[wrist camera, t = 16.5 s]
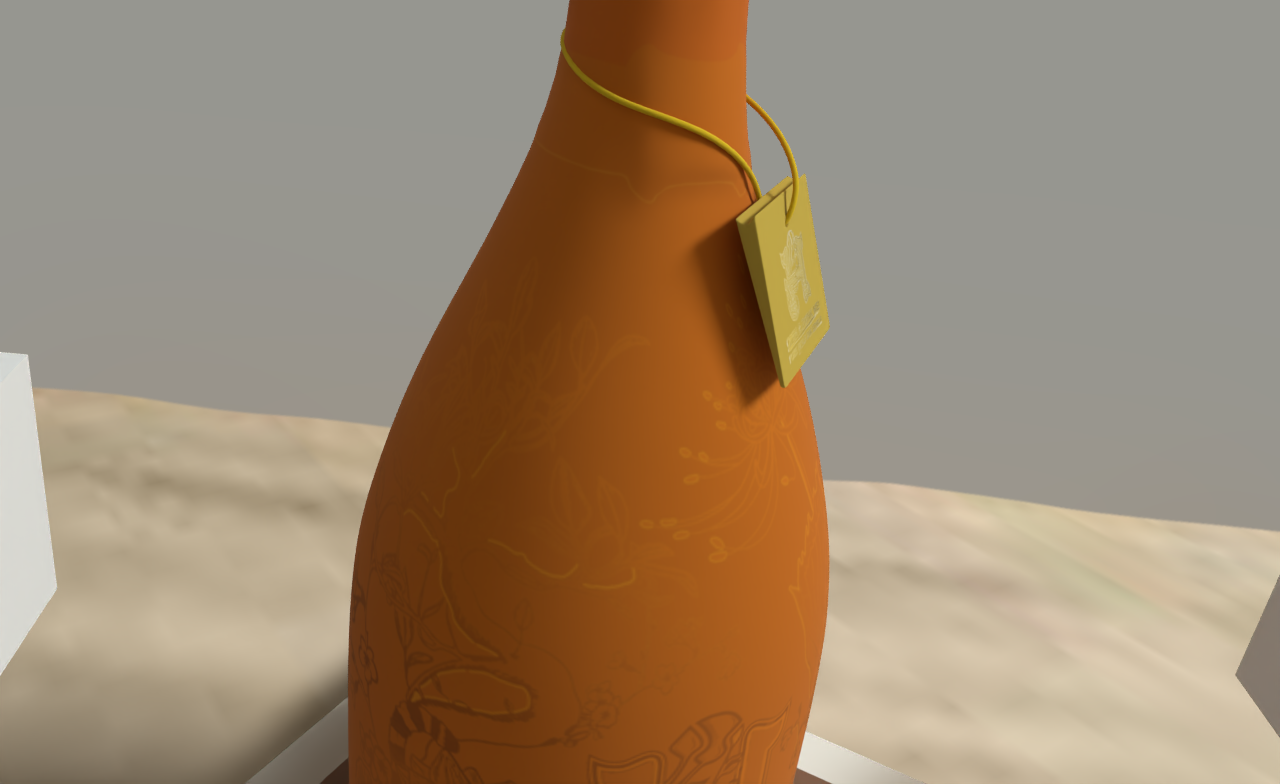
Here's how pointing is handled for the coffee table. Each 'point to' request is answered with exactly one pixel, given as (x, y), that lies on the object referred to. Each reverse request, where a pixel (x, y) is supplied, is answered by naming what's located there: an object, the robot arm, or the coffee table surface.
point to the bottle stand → (319, 760)
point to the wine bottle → (608, 450)
